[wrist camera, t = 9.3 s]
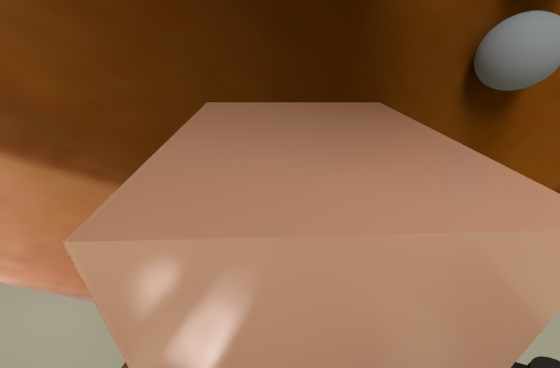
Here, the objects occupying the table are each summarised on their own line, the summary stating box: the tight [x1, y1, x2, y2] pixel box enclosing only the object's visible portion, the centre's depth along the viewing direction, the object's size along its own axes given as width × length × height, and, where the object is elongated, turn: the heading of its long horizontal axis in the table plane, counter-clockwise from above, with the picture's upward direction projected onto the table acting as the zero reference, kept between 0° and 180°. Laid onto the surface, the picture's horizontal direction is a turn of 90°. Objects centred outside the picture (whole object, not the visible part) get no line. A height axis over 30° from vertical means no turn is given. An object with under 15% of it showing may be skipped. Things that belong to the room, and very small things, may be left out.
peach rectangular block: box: [63, 102, 560, 368], centre depth 9 cm, size 12×6×7 cm, turn 179°
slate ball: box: [474, 11, 560, 91], centre depth 13 cm, size 4×4×4 cm
